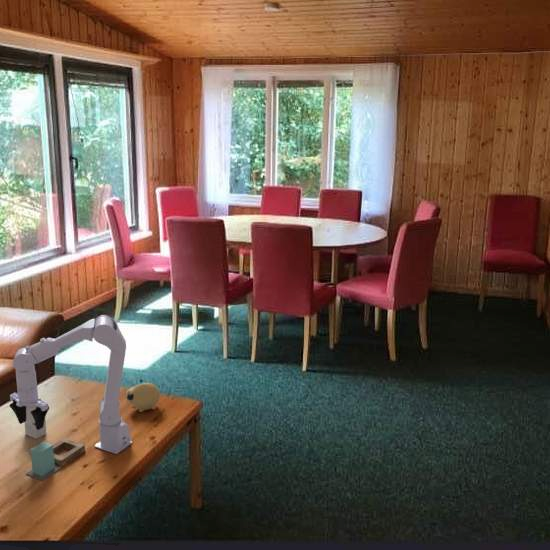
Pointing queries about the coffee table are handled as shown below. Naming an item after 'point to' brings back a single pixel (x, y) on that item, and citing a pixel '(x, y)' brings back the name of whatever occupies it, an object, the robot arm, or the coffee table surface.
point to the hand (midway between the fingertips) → (31, 425)
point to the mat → (43, 475)
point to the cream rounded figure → (143, 396)
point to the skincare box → (33, 424)
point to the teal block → (42, 458)
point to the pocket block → (73, 453)
